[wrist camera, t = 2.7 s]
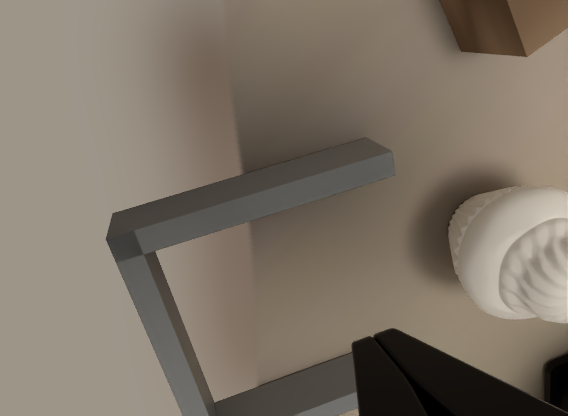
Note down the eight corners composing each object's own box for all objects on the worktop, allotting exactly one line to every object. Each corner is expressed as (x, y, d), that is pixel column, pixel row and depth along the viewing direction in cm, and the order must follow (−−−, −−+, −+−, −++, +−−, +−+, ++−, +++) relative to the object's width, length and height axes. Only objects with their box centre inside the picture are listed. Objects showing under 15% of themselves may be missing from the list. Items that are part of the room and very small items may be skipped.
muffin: (420, 290, 24) (514, 386, 18) (419, 178, 22) (526, 241, 15) (526, 263, 25) (650, 343, 19) (535, 153, 23) (681, 202, 16)
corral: (400, 350, 25) (423, 382, 23) (200, 424, 24) (204, 466, 21) (366, 137, 20) (392, 151, 18) (112, 213, 19) (106, 238, 16)
